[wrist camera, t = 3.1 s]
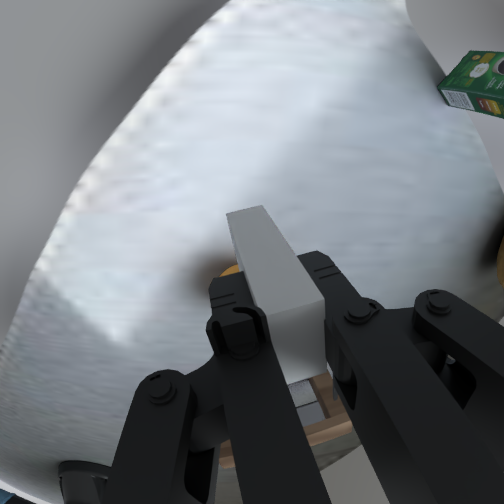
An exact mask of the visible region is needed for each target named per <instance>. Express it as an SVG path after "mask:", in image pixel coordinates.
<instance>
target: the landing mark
mask: <svg viewBox="0 0 504 504" xmlns="http://www.w3.org/2000/svg"><path fill="white" fill-rule="evenodd" d="M296 410H297V413H298V415H299V418H300V421H301V423H302V426H303V427H304V426H308V425H311V424H314V423H317V422H320V421H323V411H322V409H321V407H320V404H319V402H318V401H315V402H312V403H309V404H306V405H303V406H300V407H297V408H296Z"/></svg>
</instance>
